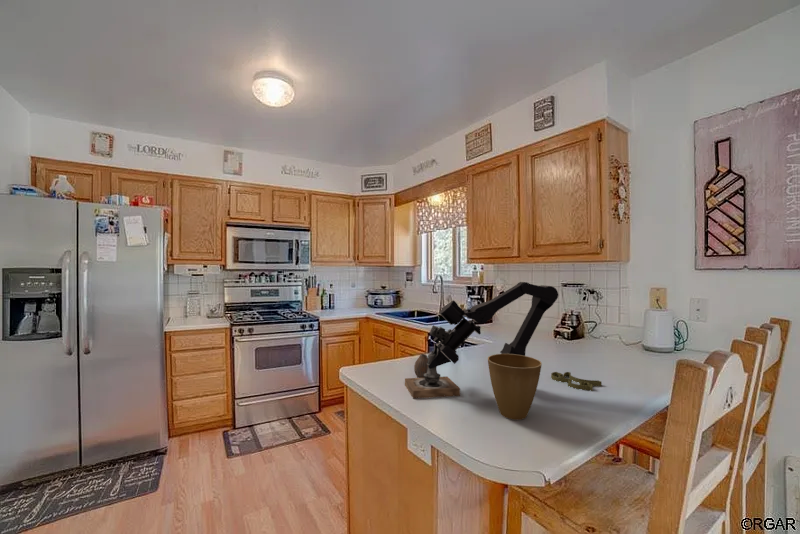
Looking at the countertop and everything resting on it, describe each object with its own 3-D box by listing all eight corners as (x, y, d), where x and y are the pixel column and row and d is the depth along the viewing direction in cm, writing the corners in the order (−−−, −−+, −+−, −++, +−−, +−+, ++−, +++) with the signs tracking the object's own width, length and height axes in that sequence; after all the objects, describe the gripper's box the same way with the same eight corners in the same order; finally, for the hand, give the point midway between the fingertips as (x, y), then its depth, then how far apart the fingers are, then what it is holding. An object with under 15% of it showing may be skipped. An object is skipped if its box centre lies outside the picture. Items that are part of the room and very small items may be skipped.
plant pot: (476, 410, 104) (477, 356, 104) (511, 401, 112) (512, 351, 112) (515, 430, 91) (515, 369, 91) (552, 419, 99) (553, 363, 99)
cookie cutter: (607, 388, 127) (607, 383, 127) (586, 393, 121) (587, 388, 121) (563, 375, 143) (563, 370, 143) (543, 379, 137) (543, 374, 137)
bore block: (447, 383, 129) (447, 376, 129) (459, 395, 116) (460, 388, 116) (404, 385, 126) (404, 378, 126) (413, 398, 113) (413, 390, 113)
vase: (432, 380, 133) (432, 357, 133) (414, 379, 133) (414, 356, 133) (431, 374, 140) (431, 352, 140) (413, 374, 140) (414, 352, 140)
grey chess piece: (435, 389, 117) (435, 353, 117) (420, 385, 121) (420, 350, 121) (443, 384, 122) (443, 350, 122) (429, 381, 125) (429, 348, 126)
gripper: (439, 314, 131) (409, 344, 130) (448, 321, 112) (414, 356, 112) (459, 335, 131) (430, 365, 131) (472, 346, 113) (438, 380, 112)
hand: (428, 366), depth 121 cm, fingers closed on grey chess piece, 4 cm apart
